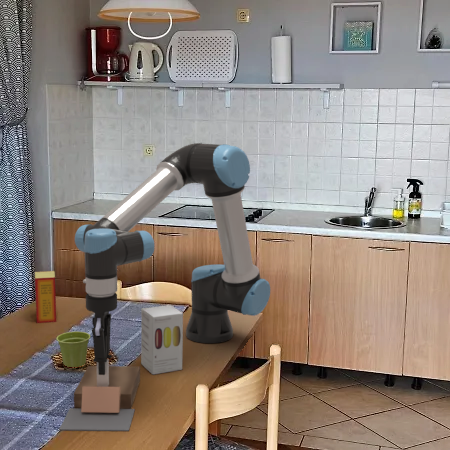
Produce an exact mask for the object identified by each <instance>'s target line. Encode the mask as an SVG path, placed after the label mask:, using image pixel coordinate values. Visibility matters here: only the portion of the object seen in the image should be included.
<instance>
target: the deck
mask: <svg viewBox="0 0 450 450" xmlns="http://www.w3.org/2000/svg"><path fill="white" fill-rule="evenodd" d="M140 382H141V366H134V365H133V366H126V365H125V366H123V365H122V366H121V365H120V366H119V365H118V366H117V365H116V366H115V365H109V385H108V386H111V387H121V395H120V409H133V408H132V407H133V404H134V401H135V399H136V396H137V392H138V388H139V385H140ZM83 386H97V365H88V366H87V367H86V369H85V371H84V373H83V375H82V376H81V379H80V380H79V382H78V385H77V387H76V388H75V391H74V393H73V408H81V407H82V387H83Z"/></svg>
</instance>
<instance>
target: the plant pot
mask: <svg viewBox="0 0 450 450" xmlns="http://www.w3.org/2000/svg"><path fill="white" fill-rule="evenodd" d="M55 339H56V341H57V342H58V343H57V344H58V345H59V348H60V353H61V359H62V365H63V364H64V365H65V366H67V367H79V366H82V365H84V364H85V363H87V354H88V344H89V342H90V339H91V334H90V333H88V332H84V331H67V332H64V333H61V334H59V335H57V337H56V338H55ZM64 365H63V366H64ZM85 365H86V364H85Z"/></svg>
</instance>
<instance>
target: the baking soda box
mask: <svg viewBox="0 0 450 450" xmlns="http://www.w3.org/2000/svg"><path fill="white" fill-rule="evenodd" d="M34 286H35V288H34V289H35V291H34V292H35V309H36V311H35V313H36V314H35V315H36V324H44V323H45V324H46V323H57V301H56V300H57V299H56V297H57V296H56V293H57V292H56V274H55V270H47V271H35V272H34Z"/></svg>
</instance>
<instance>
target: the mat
mask: <svg viewBox="0 0 450 450" xmlns="http://www.w3.org/2000/svg"><path fill="white" fill-rule="evenodd" d="M135 410H136V409H135V408H131V409H120V412H119V413H107V412H81V408H74V407H73V408H71V407H70V408H69V409H68V411H67V413H66V416H65V417H64V419H63V421H62V423H61V425H60V426H59V431H76V432H77V431H78V432H81V431H86V432H89V431H90V432H92V431H93V432H94V431H95V432H130V429H131V425H132V421H133V418H134V414H135Z"/></svg>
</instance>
